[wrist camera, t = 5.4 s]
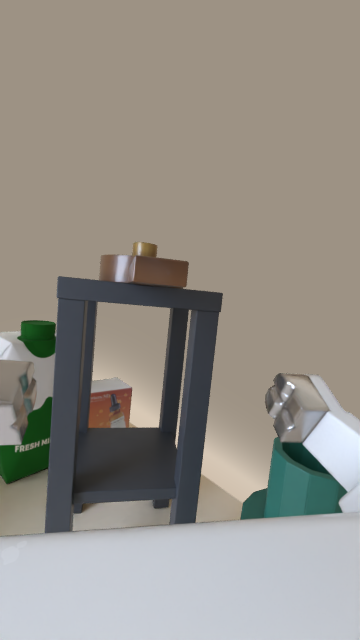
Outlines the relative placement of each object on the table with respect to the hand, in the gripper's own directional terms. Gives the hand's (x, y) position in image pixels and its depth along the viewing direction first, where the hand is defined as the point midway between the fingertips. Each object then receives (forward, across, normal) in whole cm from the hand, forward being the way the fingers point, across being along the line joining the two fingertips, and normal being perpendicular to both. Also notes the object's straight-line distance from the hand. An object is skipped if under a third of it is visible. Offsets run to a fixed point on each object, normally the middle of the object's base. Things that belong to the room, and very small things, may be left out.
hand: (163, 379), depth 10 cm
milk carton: (+16, +13, +36) cm, 42 cm away
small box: (+18, +3, +37) cm, 42 cm away
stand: (+4, 0, +29) cm, 29 cm away
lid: (+11, 0, +3) cm, 12 cm away
